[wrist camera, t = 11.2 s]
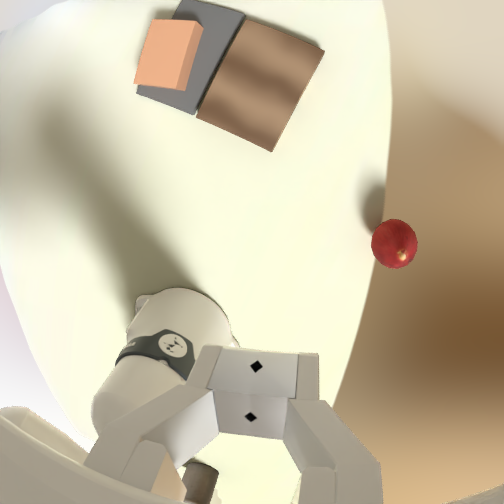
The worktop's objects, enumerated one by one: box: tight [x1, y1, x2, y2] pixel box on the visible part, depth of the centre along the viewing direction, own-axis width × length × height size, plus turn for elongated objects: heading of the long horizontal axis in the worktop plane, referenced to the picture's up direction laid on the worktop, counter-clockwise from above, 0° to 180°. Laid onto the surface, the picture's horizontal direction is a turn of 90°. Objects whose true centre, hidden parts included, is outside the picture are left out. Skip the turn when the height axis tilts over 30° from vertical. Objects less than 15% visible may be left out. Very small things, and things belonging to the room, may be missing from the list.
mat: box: [136, 0, 245, 115], centre depth 31 cm, size 15×9×1 cm, turn 154°
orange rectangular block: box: [133, 19, 204, 91], centre depth 30 cm, size 9×6×3 cm, turn 165°
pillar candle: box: [182, 463, 219, 504], centre depth 63 cm, size 10×10×15 cm
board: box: [196, 19, 325, 152], centre depth 31 cm, size 14×10×2 cm
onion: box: [371, 219, 418, 269], centre depth 33 cm, size 6×6×8 cm
